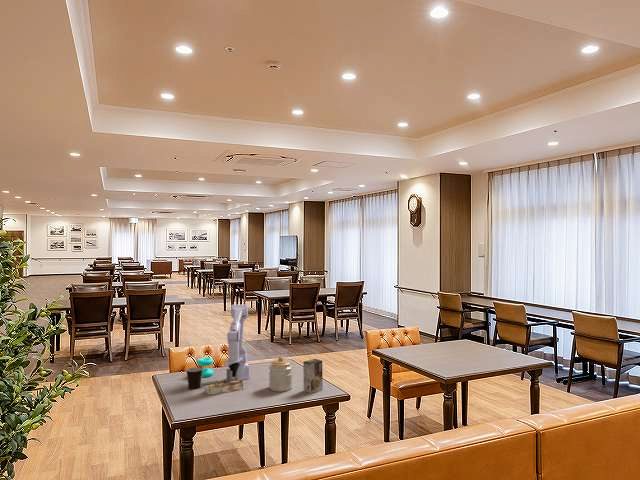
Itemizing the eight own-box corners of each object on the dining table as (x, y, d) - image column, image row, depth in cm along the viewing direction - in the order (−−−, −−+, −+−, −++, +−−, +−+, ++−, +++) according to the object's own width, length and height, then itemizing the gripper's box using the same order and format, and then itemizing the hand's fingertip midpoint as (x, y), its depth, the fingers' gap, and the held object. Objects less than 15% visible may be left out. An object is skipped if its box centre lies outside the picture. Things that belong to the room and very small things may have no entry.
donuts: (193, 359, 280) (205, 356, 288) (193, 376, 279) (205, 372, 288) (204, 361, 274) (216, 358, 283) (204, 378, 274) (216, 374, 283)
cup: (216, 389, 254) (216, 383, 254) (221, 392, 248) (221, 387, 248) (204, 391, 250) (204, 386, 250) (209, 395, 245) (209, 389, 245)
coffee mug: (198, 390, 253) (198, 372, 253) (183, 389, 254) (183, 371, 254) (207, 383, 264) (207, 366, 264) (193, 382, 266) (193, 365, 266)
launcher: (236, 384, 262) (236, 377, 262) (243, 389, 255) (243, 381, 255) (215, 388, 255) (215, 381, 255) (221, 393, 247) (221, 385, 248)
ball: (214, 389, 252) (212, 383, 251) (216, 390, 249) (215, 384, 248) (208, 391, 250) (206, 386, 249) (211, 393, 247) (209, 387, 246)
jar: (276, 383, 265) (276, 352, 265) (296, 386, 259) (296, 355, 259) (264, 390, 253) (264, 358, 253) (284, 393, 247) (284, 360, 247)
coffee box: (314, 387, 258) (314, 358, 258) (322, 389, 254) (322, 360, 254) (302, 390, 252) (302, 361, 252) (311, 393, 247) (310, 363, 247)
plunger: (228, 381, 257) (228, 368, 257) (232, 384, 253) (232, 370, 253) (223, 382, 256) (223, 369, 256) (227, 385, 251) (227, 371, 251)
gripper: (236, 348, 264) (236, 372, 264) (219, 354, 252) (219, 379, 252) (246, 350, 261) (246, 374, 261) (229, 355, 248) (229, 380, 248)
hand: (233, 376), depth 256 cm, fingers closed
